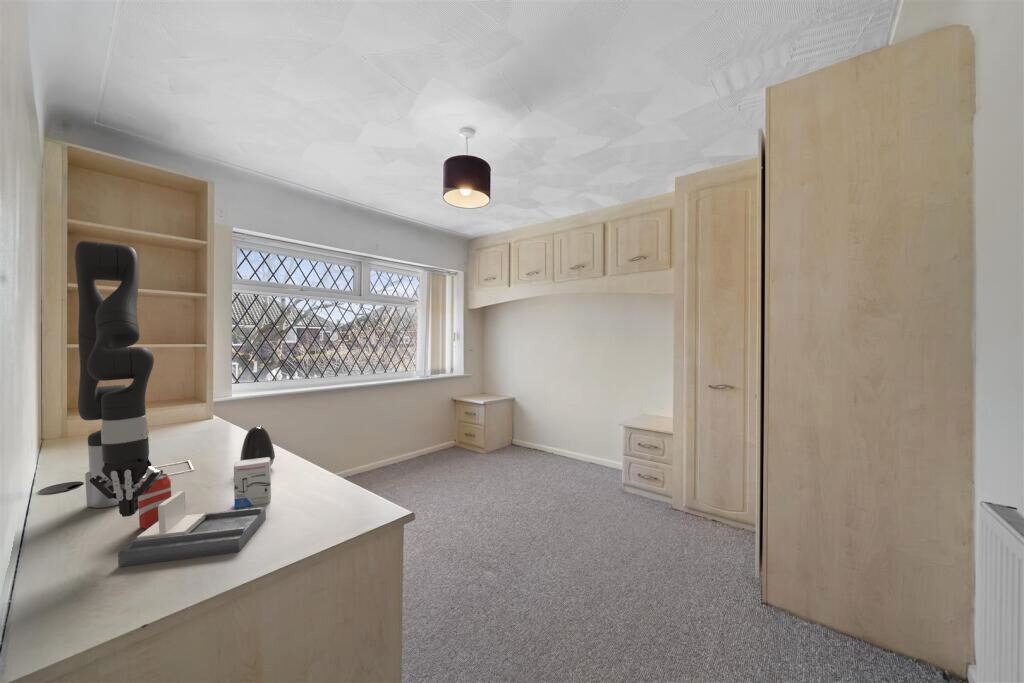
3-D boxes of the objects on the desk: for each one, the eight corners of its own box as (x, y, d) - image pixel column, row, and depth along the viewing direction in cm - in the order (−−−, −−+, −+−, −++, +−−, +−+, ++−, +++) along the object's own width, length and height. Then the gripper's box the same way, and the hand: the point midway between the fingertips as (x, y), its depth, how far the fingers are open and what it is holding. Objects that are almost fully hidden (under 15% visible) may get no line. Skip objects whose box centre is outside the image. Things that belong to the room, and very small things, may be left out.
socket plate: (118, 567, 84) (117, 548, 83) (165, 530, 99) (164, 513, 99) (239, 551, 89) (238, 533, 88) (265, 518, 104) (265, 503, 104)
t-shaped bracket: (137, 542, 87) (135, 508, 87) (162, 522, 96) (161, 492, 96) (184, 536, 89) (183, 503, 89) (205, 518, 98) (204, 488, 98)
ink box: (233, 509, 110) (232, 466, 110) (236, 502, 114) (234, 461, 114) (270, 502, 114) (269, 461, 114) (271, 496, 118) (270, 456, 118)
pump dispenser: (278, 463, 148) (276, 422, 147) (271, 473, 138) (269, 428, 138) (246, 467, 145) (244, 424, 144) (236, 477, 135) (234, 431, 134)
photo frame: (123, 471, 140) (189, 459, 153) (123, 474, 140) (189, 462, 153) (122, 482, 130) (194, 468, 142) (123, 486, 130) (194, 472, 142)
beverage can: (160, 517, 106) (158, 472, 106) (178, 520, 104) (176, 474, 104) (133, 528, 100) (131, 480, 100) (151, 532, 98) (149, 482, 98)
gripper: (75, 444, 85) (79, 526, 85) (149, 439, 88) (153, 518, 88) (102, 435, 92) (106, 511, 93) (170, 431, 95) (173, 504, 96)
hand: (129, 514), depth 90 cm, fingers closed
